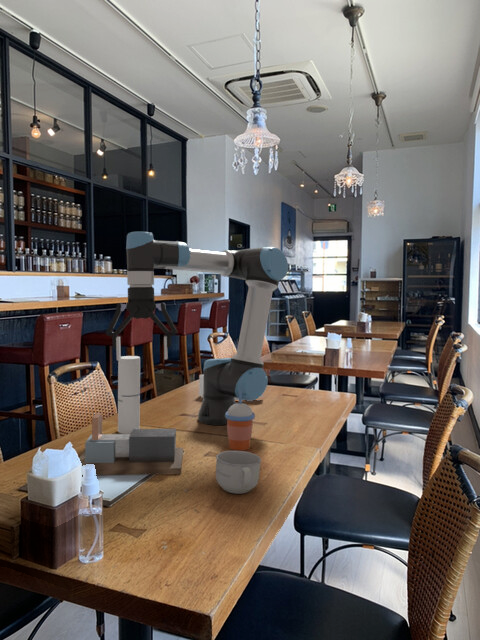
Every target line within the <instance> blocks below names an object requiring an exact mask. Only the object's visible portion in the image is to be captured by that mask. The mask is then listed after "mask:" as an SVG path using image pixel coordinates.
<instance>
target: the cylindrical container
mask: <svg viewBox="0 0 480 640" xmlns="http://www.w3.org/2000/svg"><path fill="white" fill-rule="evenodd" d="M117 361H118V362H117V363H118V365H117V368H118V370H117V376H118V377H117V383H118V384H117V432H118V434H131V432H132V430H133V429H141V428H140V425H141V424H140V421H141V419H140V418H141V417H140V416H141V415H140V413H141V411H140V410H141V406H140V405H141V398H140V397H141V394H140V393H141V357H140V356H138V355H126V356H125V355H124V356H123V355H121V359H120V360H117Z"/></svg>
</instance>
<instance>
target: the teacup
mask: <svg viewBox="0 0 480 640" xmlns="http://www.w3.org/2000/svg"><path fill="white" fill-rule="evenodd" d="M215 458H216V462H215V479H216V483H218V485H219V486H220V487H221V488H222V489H223V490H224V492H227V493H231V494H237V495H239V494H240V495H241V494H246V493H248V492H251V490H253V489H254V488H255V487H256V486H257V484H258V483H259V478H260V471H261V470H260V469H261V462H262V458H261V457H260V456H259V455H258V454H255V453H252V452H250V451H246V450H244V451H236V450H224V451H221V452H219V453H217V454H216V456H215Z"/></svg>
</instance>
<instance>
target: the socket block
mask: <svg viewBox="0 0 480 640" xmlns="http://www.w3.org/2000/svg"><path fill="white" fill-rule="evenodd" d="M91 440H92V434H90V436H89V437H88V438H87V440H86V441H85V443H84V446H85V448H84V450H85V463H114V461H115V459H116V457H114V442H91Z"/></svg>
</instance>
